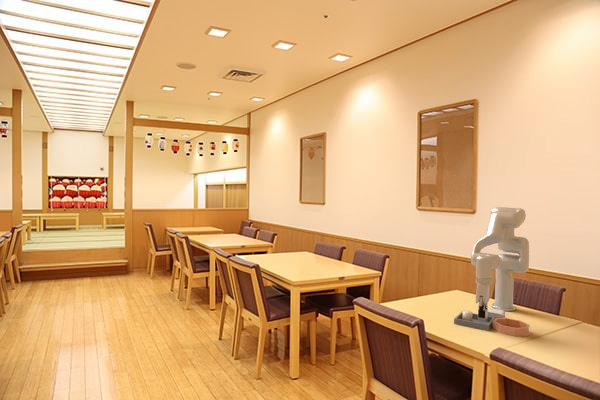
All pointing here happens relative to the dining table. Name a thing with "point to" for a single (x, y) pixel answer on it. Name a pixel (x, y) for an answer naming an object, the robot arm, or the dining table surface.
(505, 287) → the robot arm
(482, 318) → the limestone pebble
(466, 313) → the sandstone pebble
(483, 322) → the parts tray
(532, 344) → the dining table surface
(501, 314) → the charger
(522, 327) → the bowl
